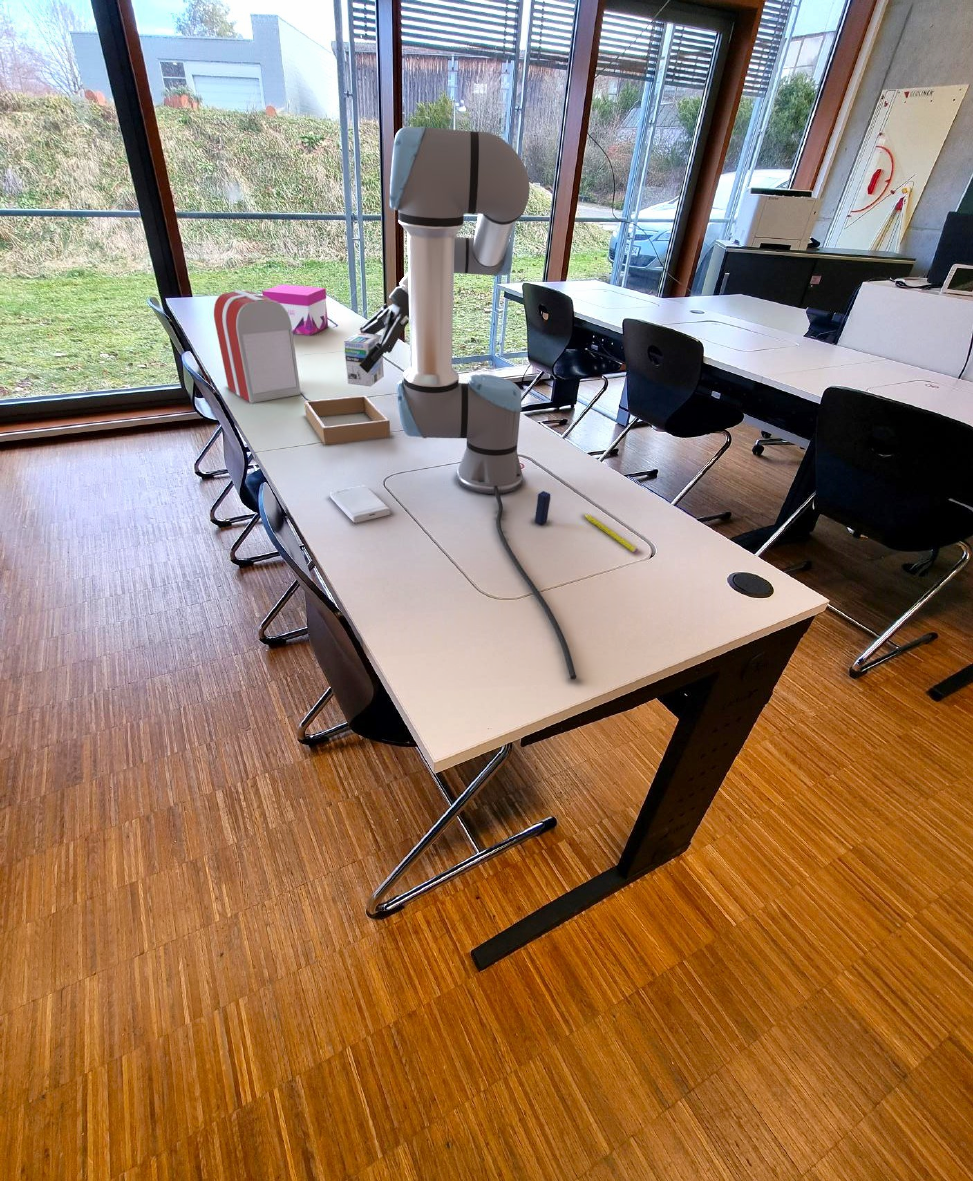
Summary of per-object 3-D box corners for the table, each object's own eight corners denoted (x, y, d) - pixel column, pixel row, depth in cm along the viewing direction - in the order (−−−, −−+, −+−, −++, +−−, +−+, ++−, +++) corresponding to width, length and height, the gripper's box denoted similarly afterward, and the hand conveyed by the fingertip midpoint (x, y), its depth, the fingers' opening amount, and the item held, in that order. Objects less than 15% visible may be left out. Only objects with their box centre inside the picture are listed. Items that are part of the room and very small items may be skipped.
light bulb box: (371, 387, 151) (368, 343, 144) (346, 384, 152) (342, 340, 145) (384, 376, 159) (382, 334, 153) (361, 373, 160) (358, 331, 154)
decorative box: (268, 331, 242) (262, 291, 233) (288, 322, 258) (283, 284, 249) (311, 335, 240) (307, 295, 232) (329, 326, 256) (325, 288, 247)
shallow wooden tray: (390, 436, 156) (389, 420, 154) (324, 445, 149) (322, 428, 147) (366, 410, 172) (365, 395, 169) (306, 417, 165) (304, 401, 162)
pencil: (637, 552, 115) (638, 548, 114) (633, 553, 115) (634, 549, 114) (585, 515, 126) (586, 511, 126) (582, 516, 126) (582, 512, 125)
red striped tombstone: (250, 403, 171) (231, 302, 155) (226, 387, 181) (206, 291, 166) (302, 394, 180) (289, 298, 165) (276, 379, 191) (262, 287, 175)
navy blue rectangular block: (539, 519, 124) (543, 489, 120) (547, 522, 123) (551, 493, 119) (533, 522, 122) (536, 493, 118) (541, 526, 121) (545, 496, 117)
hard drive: (329, 491, 125) (353, 516, 117) (365, 484, 129) (390, 507, 121) (330, 498, 126) (353, 523, 118) (365, 491, 130) (390, 514, 122)
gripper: (437, 317, 143) (381, 385, 146) (402, 298, 160) (352, 360, 163) (417, 293, 138) (359, 365, 141) (383, 277, 155) (332, 341, 158)
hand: (355, 362), depth 152 cm, fingers closed on light bulb box, 12 cm apart
